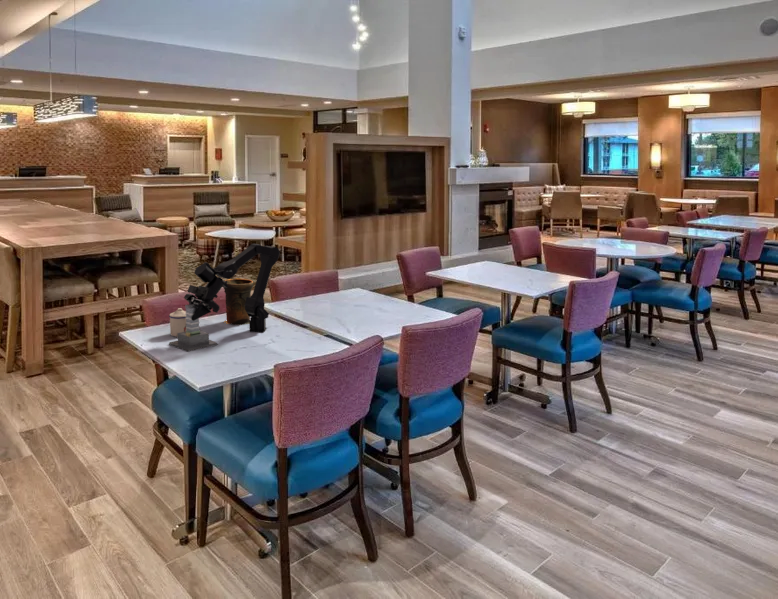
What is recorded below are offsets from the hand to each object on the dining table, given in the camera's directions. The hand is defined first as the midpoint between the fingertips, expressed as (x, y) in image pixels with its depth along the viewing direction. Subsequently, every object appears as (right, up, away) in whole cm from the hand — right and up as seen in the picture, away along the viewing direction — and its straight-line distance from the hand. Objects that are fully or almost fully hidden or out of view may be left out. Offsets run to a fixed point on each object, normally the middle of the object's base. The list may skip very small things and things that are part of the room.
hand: (189, 319), depth 258 cm
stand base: (+1, -11, +3) cm, 11 cm away
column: (+1, -6, +2) cm, 6 cm away
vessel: (+10, -3, +43) cm, 44 cm away
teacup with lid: (-10, -7, +20) cm, 24 cm away
